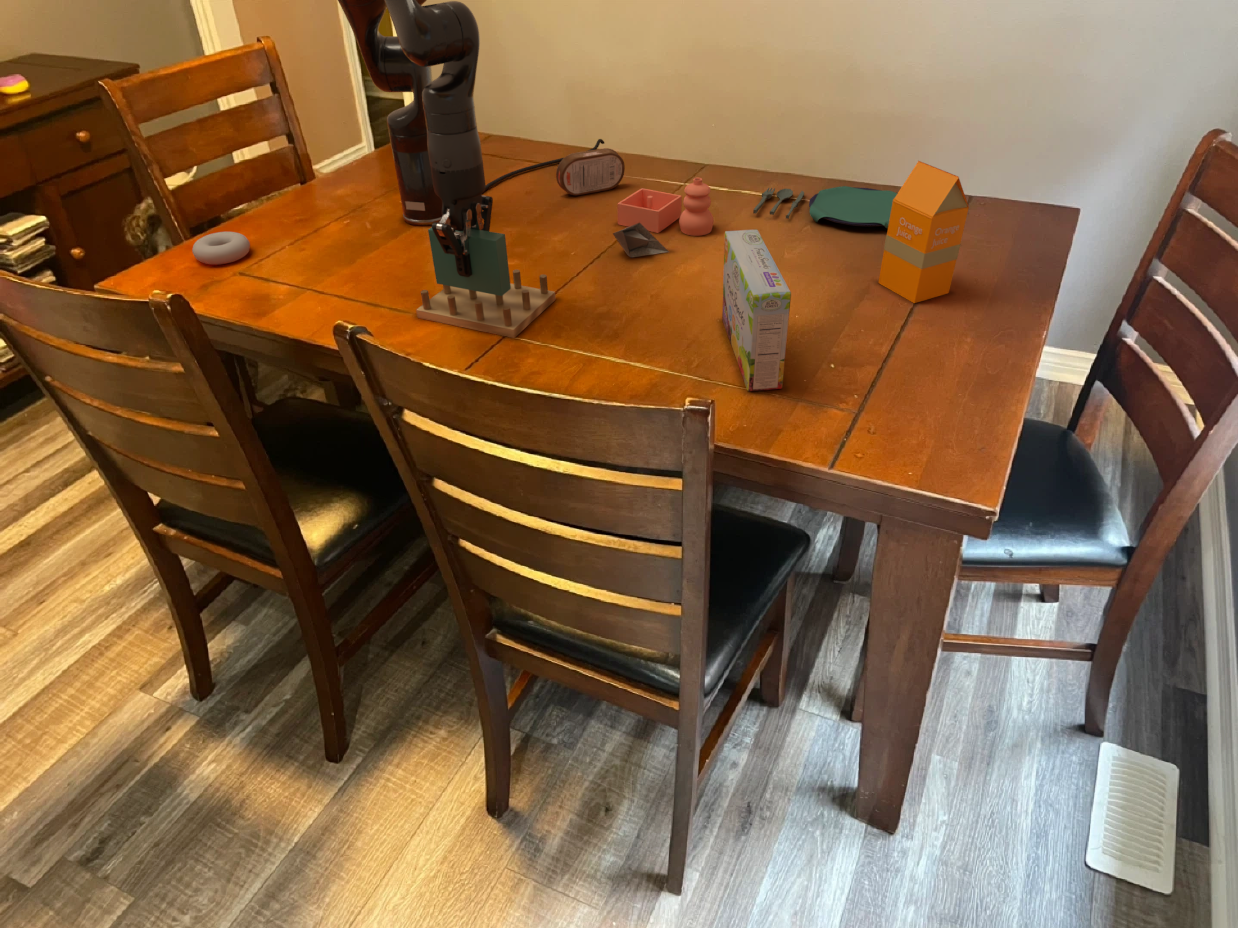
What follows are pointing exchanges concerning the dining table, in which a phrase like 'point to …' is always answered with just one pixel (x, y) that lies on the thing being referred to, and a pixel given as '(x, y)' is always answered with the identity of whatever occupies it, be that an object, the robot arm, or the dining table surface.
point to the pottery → (669, 209)
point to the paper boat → (638, 241)
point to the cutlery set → (842, 205)
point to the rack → (488, 307)
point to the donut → (221, 248)
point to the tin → (590, 171)
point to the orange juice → (924, 234)
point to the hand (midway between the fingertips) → (471, 270)
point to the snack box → (755, 309)
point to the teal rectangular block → (475, 263)
